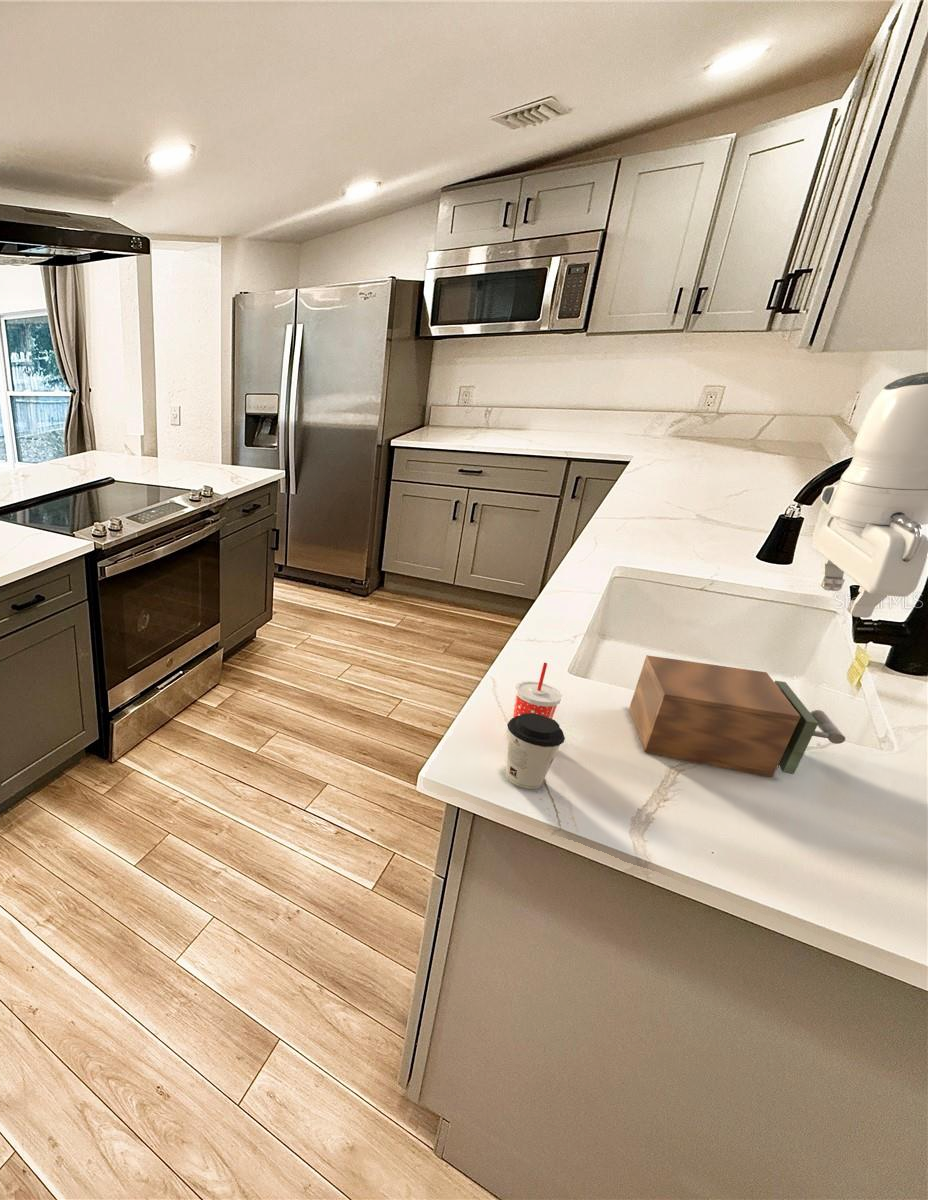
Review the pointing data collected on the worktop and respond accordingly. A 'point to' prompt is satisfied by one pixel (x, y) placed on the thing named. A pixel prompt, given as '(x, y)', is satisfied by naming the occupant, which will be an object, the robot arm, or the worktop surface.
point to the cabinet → (712, 715)
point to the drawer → (805, 730)
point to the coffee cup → (531, 749)
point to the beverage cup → (536, 697)
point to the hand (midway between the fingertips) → (842, 601)
